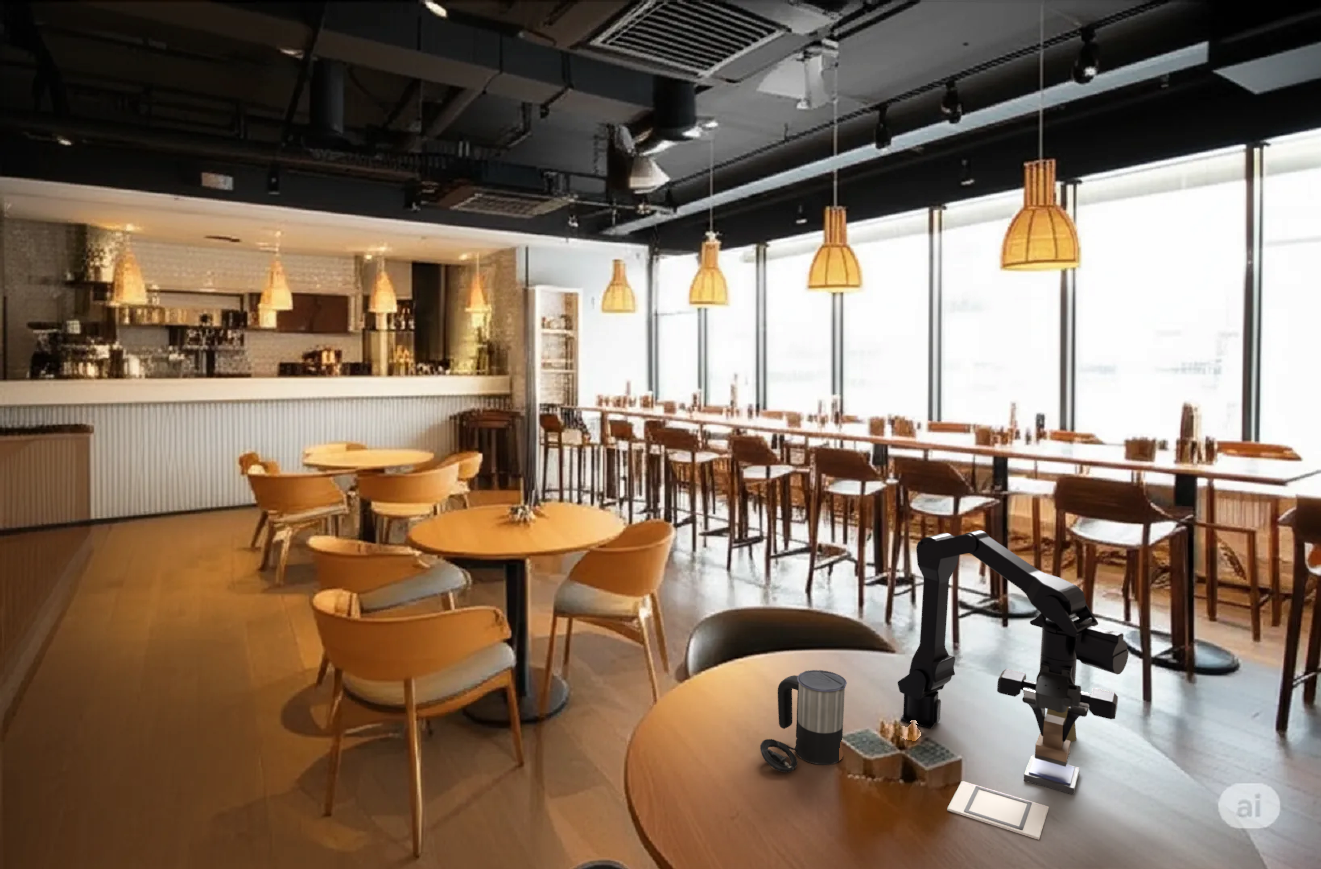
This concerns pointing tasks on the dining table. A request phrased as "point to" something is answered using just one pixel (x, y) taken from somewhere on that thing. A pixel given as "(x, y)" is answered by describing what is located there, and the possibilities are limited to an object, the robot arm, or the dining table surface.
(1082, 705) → the robot arm
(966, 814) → the print card
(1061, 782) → the ink pad
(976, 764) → the dining table surface
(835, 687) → the milk frother
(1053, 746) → the stamp
